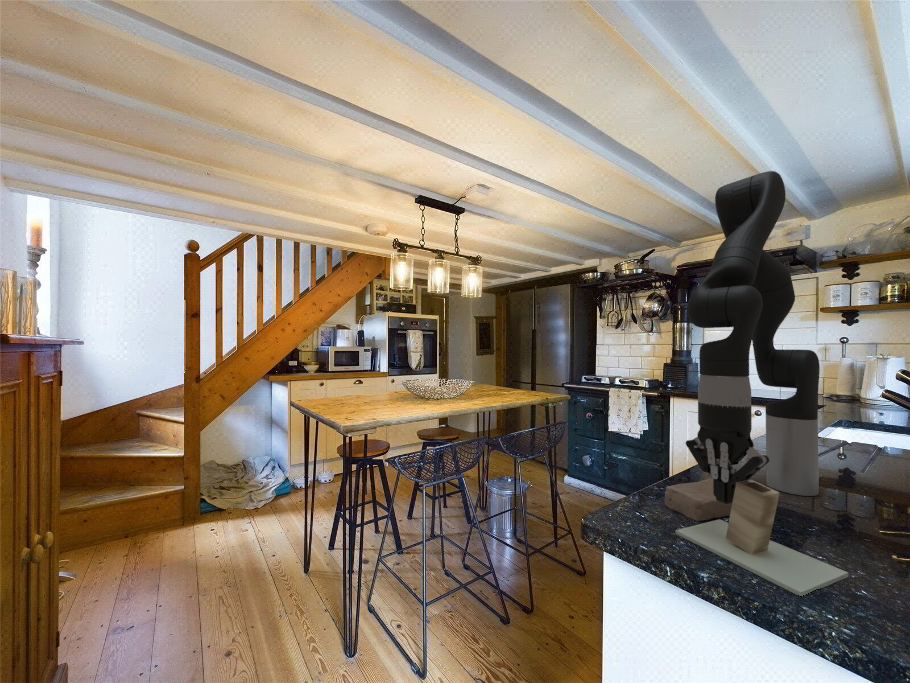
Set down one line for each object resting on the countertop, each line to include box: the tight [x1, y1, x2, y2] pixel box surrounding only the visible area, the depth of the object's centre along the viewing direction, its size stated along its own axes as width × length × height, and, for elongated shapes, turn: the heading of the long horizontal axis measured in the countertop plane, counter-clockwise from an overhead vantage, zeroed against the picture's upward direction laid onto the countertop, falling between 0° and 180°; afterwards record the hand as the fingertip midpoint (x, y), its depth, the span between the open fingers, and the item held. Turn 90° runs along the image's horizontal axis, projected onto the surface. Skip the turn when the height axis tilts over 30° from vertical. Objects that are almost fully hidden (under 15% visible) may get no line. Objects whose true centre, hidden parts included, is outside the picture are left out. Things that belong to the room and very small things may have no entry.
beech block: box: [726, 479, 781, 555], centre depth 60 cm, size 4×4×10 cm
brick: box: [664, 477, 733, 522], centre depth 77 cm, size 17×8×5 cm, turn 109°
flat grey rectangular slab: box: [675, 518, 849, 597], centre depth 60 cm, size 12×18×1 cm, turn 22°
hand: (724, 501), depth 64 cm, fingers closed
